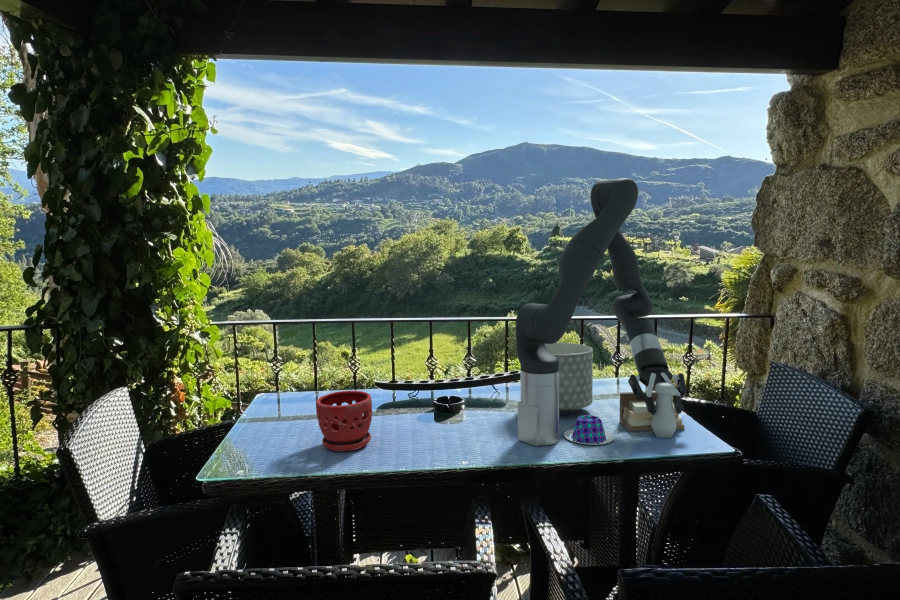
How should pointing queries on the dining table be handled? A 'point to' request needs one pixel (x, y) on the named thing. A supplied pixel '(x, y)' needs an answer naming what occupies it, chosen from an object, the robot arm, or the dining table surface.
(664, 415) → the salt shaker
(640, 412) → the offcut rack
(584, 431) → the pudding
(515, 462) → the dining table surface
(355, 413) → the plant pot
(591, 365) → the planter
